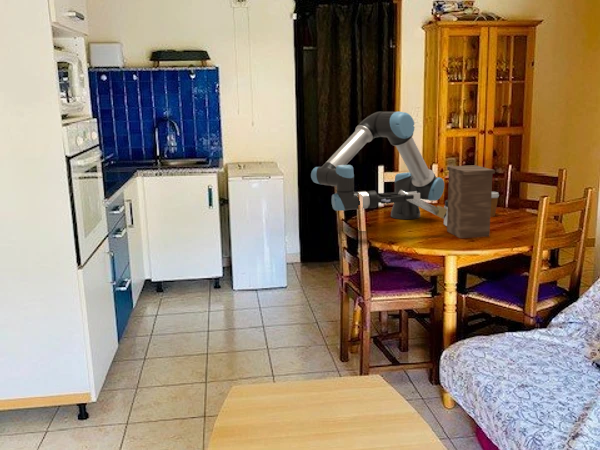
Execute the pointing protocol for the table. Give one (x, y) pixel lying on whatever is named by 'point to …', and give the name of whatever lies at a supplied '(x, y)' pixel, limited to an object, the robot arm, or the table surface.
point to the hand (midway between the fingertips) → (418, 195)
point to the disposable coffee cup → (494, 202)
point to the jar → (446, 212)
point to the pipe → (427, 206)
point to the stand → (469, 201)
